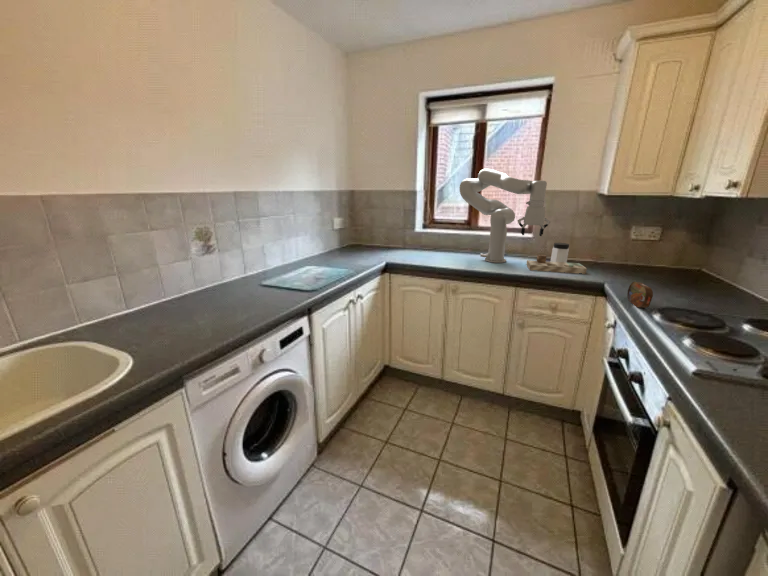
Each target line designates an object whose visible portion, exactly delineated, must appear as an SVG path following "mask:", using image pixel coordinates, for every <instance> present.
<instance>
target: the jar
mask: <svg viewBox="0 0 768 576" xmlns="http://www.w3.org/2000/svg"><path fill="white" fill-rule="evenodd" d="M569 247H570V244H569V243H566V242H554V243H553V247H552V251H551V254H550V255H551V256H550V261H549V262H565V263H568V257H569V251H570V248H569Z"/></svg>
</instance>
